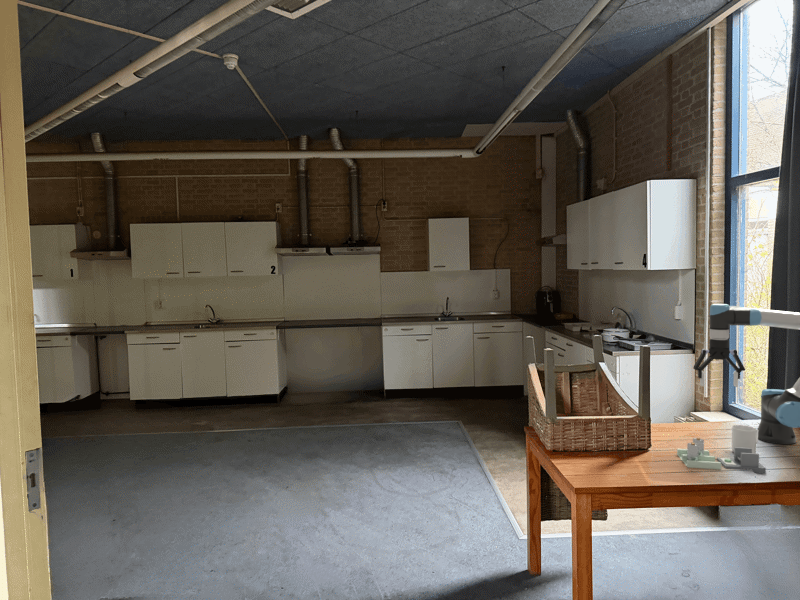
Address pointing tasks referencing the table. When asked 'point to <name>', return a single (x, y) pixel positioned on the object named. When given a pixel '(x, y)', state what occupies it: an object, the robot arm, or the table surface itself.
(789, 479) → the table surface
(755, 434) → the mug
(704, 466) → the tray
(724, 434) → the table surface
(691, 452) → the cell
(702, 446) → the cell
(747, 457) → the grey mounting bracket
